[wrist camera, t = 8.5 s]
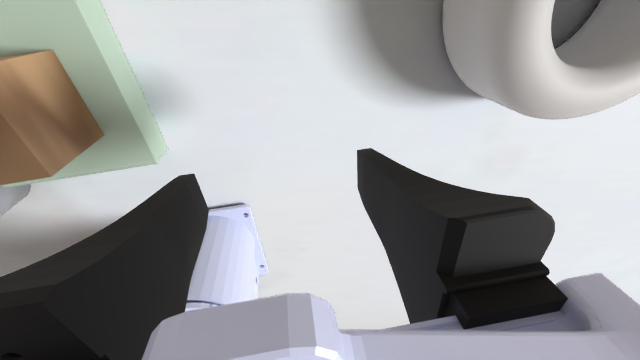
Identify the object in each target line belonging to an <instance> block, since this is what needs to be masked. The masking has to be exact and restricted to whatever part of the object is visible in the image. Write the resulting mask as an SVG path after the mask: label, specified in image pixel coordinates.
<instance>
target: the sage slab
mask: <svg viewBox="0 0 640 360" xmlns="http://www.w3.org/2000/svg"><path fill="white" fill-rule="evenodd" d="M46 50H53V51H54V52H55V54H56V56H57V57H58V59H59V61H60V62H61V64H62V66H63V67H64V69H65V71H66V72H67V74H68V76H69V77H70V79H71V81H72V82H73V84H74V86H75V87H76V89H77V91H78V92H79V94H80V95H81V97H82V99H83V100H84V102H85V104H86V105H87V107H88V109H89V110H90V112H91V114H92V115H93V117H94V119H95V120H96V122H97V124H98V125H99V127H100V129H101V130H102V132H103V134H104V136H103V137H102V138H100V139H99V140H98V141H96V142H95V143H94V144H93V145H91V146H90V147H89V148H87V149H86V150H85V151H84V152H82V153H81V154H80V155H79V156H77V157H76V158H75V159H73V160H72V161H71V162H70V163H68V164H67V165H66V166H65V167H63V168H62V169H61V170H59V171H58V172H57V173H56V174H54V175H53V176H52V177H47V178H41V179H35V180H29V181H23V182H18V183H12V184H6V185H2V186H3V187H4V188H7V187H13V186H19V185H26V184H32V183H38V182H45V181H51V180H57V179H64V178H70V177H76V176H83V175H89V174H95V173H102V172H108V171H114V170H121V169H127V168H133V167H140V166H146V165H152V164H157V163H158V162H159V160H160V159H161V158H162V156H163V155H164V153H165V152H166V151H167V149H168V146H167V144H166V142H165V139H164V137H163V135H162V133H161V131H160V129H159V126H158V124H157V122H156V120H155V118H154V115H153V113H152V111H151V109H150V107H149V105H148V102H147V100H146V98H145V96H144V94H143V92H142V89H141V87H140V85H139V83H138V81H137V78H136V76H135V74H134V72H133V70H132V68H131V65H130V63H129V61H128V59H127V57H126V55H125V52H124V50H123V48H122V46H121V44H120V42H119V39H118V37H117V35H116V33H115V31H114V28H113V26H112V24H111V22H110V20H109V18H108V15H107V13H106V11H105V9H104V7H103V5H102V2H101V0H0V57H4V56H11V55H18V54H25V53H32V52H39V51H46Z"/></svg>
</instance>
